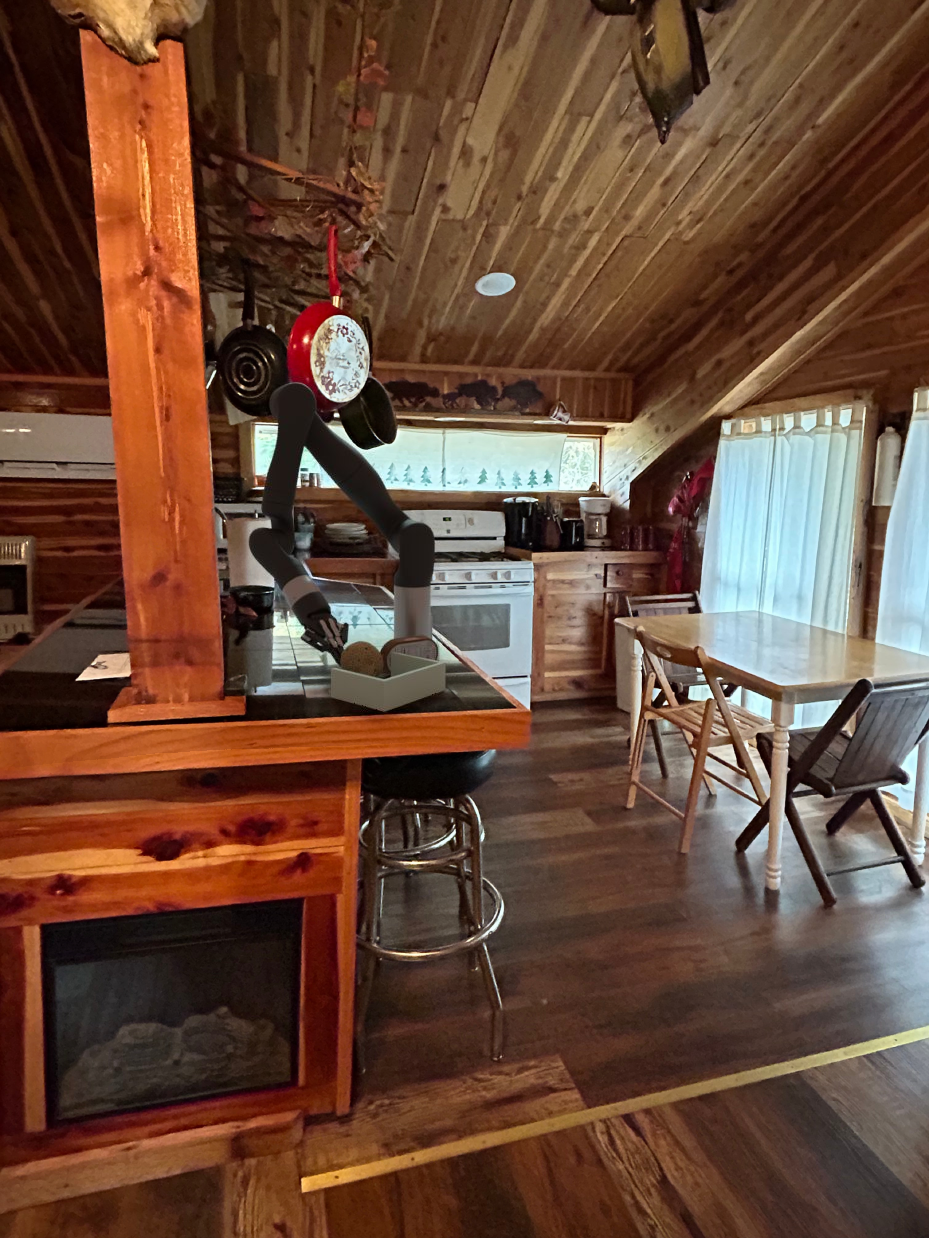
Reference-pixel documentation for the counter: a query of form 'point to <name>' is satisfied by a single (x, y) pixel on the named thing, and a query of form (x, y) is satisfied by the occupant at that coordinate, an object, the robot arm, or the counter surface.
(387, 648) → the tin
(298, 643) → the counter surface
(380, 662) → the natural sponge
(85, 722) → the counter surface
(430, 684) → the box
